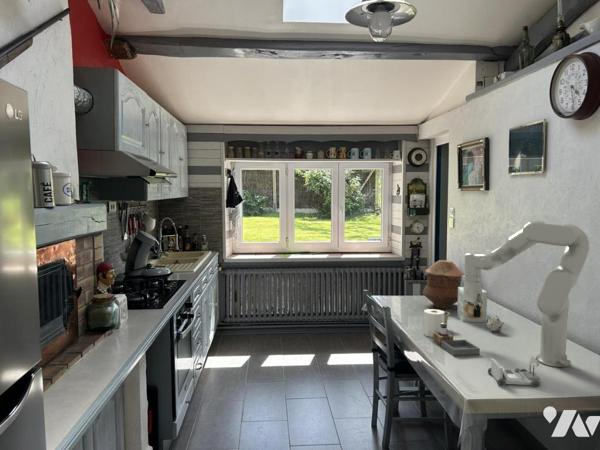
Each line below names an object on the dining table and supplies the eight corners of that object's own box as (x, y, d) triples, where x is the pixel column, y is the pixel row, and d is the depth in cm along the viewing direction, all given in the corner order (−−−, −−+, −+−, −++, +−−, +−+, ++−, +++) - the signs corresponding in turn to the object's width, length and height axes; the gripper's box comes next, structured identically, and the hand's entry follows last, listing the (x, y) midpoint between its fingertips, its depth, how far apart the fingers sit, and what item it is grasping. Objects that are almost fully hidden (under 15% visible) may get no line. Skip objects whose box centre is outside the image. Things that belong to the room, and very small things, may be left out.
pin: (447, 344, 212) (448, 324, 211) (441, 344, 212) (442, 324, 211) (444, 342, 215) (445, 322, 214) (438, 342, 215) (439, 322, 214)
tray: (479, 354, 198) (479, 348, 198) (453, 356, 196) (454, 349, 196) (465, 345, 211) (465, 339, 210) (440, 346, 209) (441, 340, 208)
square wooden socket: (453, 345, 211) (453, 336, 210) (439, 346, 209) (439, 337, 209) (446, 340, 217) (446, 331, 217) (432, 341, 216) (433, 332, 216)
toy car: (534, 352, 175) (548, 363, 164) (533, 376, 176) (547, 389, 165) (488, 350, 177) (498, 361, 166) (487, 374, 178) (497, 386, 166)
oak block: (482, 318, 211) (482, 305, 210) (470, 318, 210) (470, 306, 209) (475, 315, 217) (475, 302, 216) (464, 315, 216) (464, 303, 215)
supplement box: (479, 316, 262) (480, 287, 261) (486, 322, 249) (487, 292, 248) (456, 315, 264) (457, 286, 263) (462, 321, 251) (463, 291, 250)
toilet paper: (428, 330, 235) (428, 307, 234) (447, 334, 228) (447, 311, 227) (420, 334, 227) (420, 311, 226) (439, 338, 220) (440, 315, 220)
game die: (497, 339, 232) (506, 327, 225) (481, 332, 233) (490, 321, 227) (497, 327, 238) (506, 315, 232) (482, 320, 240) (490, 309, 233)
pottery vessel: (414, 303, 291) (415, 259, 289) (443, 300, 302) (444, 256, 300) (441, 313, 268) (443, 264, 266) (473, 309, 278) (474, 262, 276)
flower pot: (429, 329, 236) (429, 313, 235) (432, 325, 244) (433, 309, 243) (447, 332, 231) (448, 316, 231) (450, 327, 240) (450, 311, 239)
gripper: (456, 276, 220) (457, 311, 221) (475, 281, 203) (475, 320, 204) (470, 275, 221) (470, 310, 222) (490, 281, 204) (490, 319, 205)
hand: (473, 315), depth 213 cm, fingers closed on oak block, 6 cm apart
